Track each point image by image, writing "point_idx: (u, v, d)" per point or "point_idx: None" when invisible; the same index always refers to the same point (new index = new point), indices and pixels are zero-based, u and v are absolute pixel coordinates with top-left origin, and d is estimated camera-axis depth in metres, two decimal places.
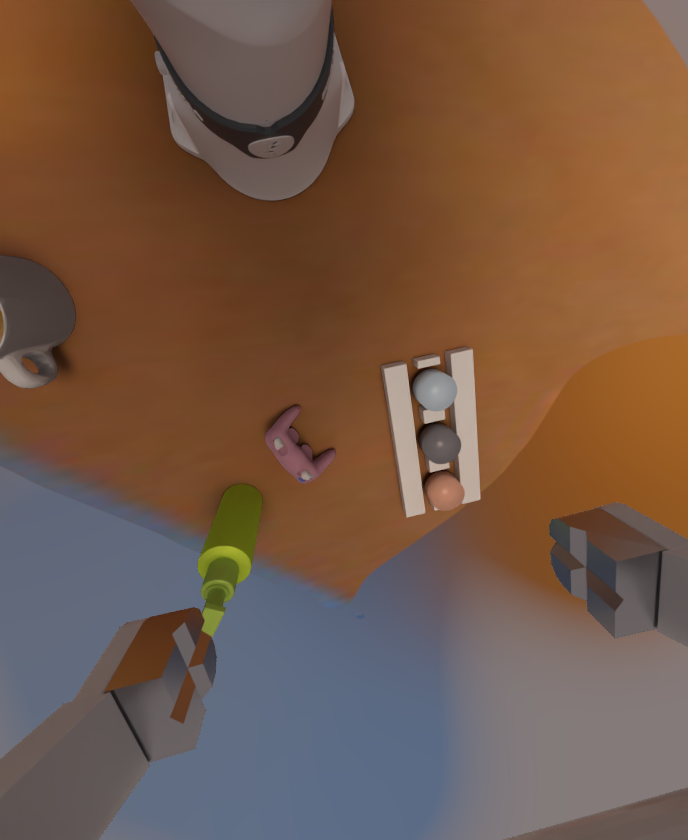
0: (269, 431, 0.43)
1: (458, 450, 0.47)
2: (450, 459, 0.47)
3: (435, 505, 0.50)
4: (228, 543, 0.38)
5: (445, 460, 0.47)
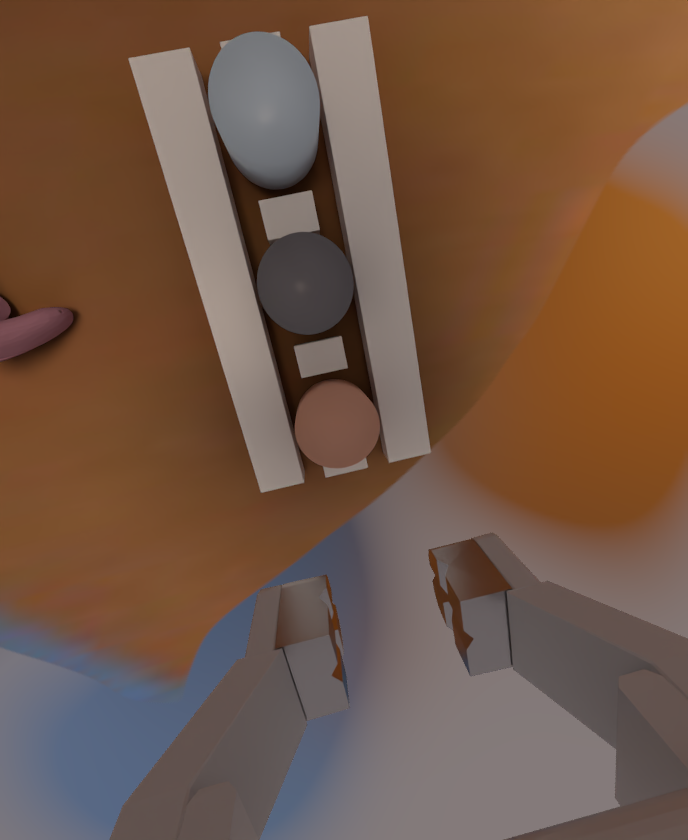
0: None
1: (347, 295, 0.18)
2: (329, 321, 0.18)
3: (308, 453, 0.20)
4: None
5: (316, 323, 0.18)
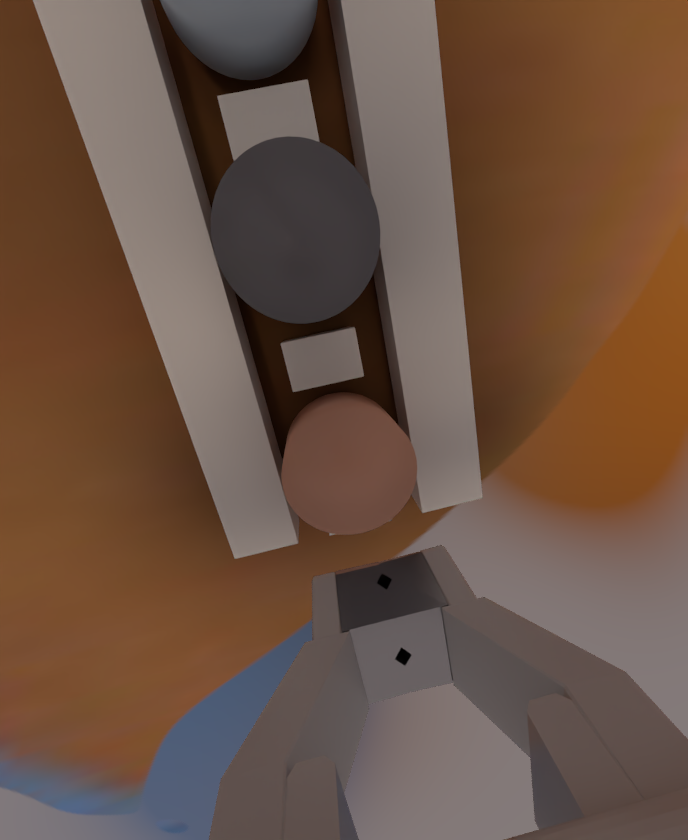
0: None
1: (370, 255, 0.10)
2: (338, 301, 0.11)
3: (303, 513, 0.13)
4: None
5: (315, 305, 0.11)
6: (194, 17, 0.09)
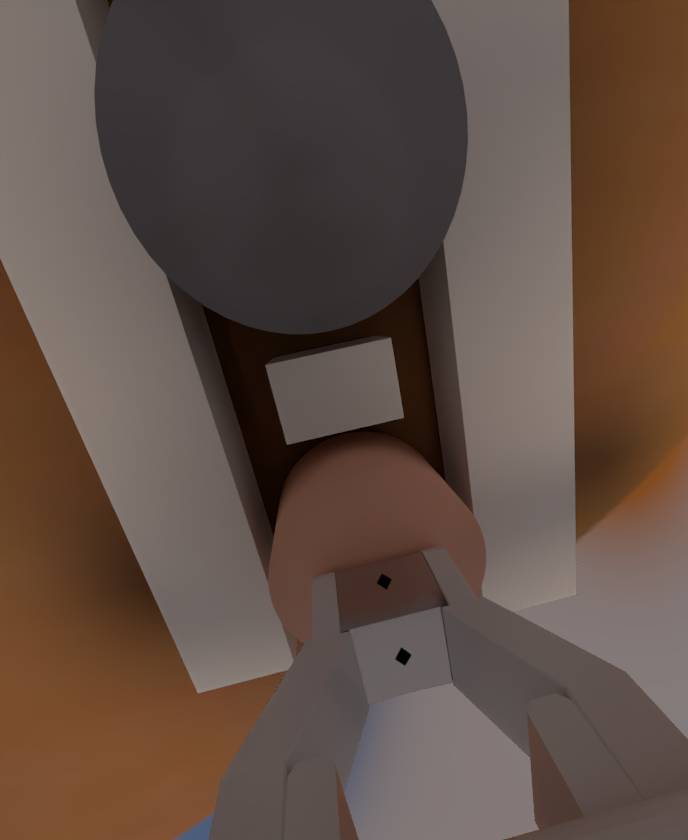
0: None
1: (443, 192, 0.05)
2: (375, 288, 0.05)
3: (304, 633, 0.08)
4: None
5: (329, 296, 0.05)
6: None
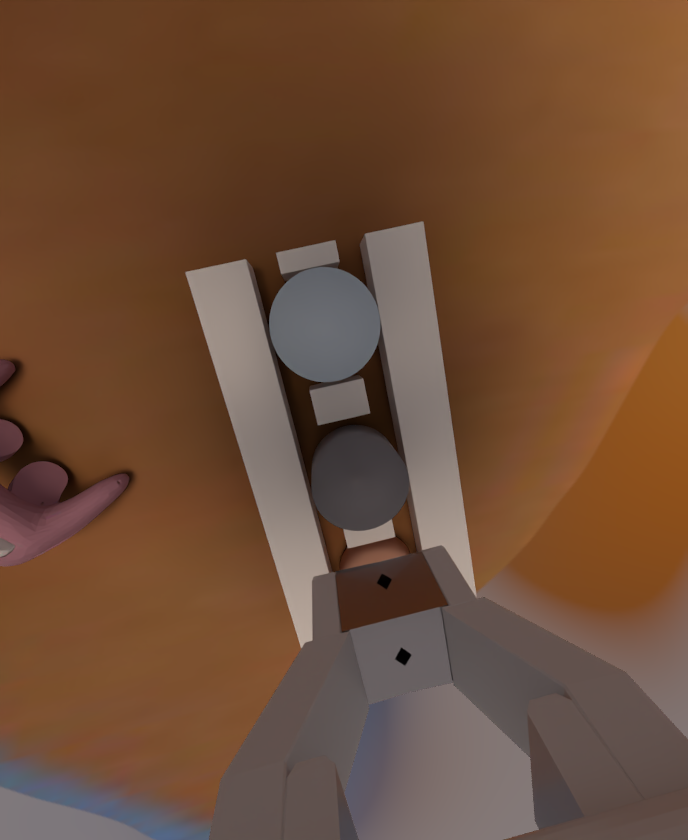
0: None
1: (403, 493, 0.17)
2: (383, 517, 0.18)
3: None
4: None
5: (370, 520, 0.18)
6: None
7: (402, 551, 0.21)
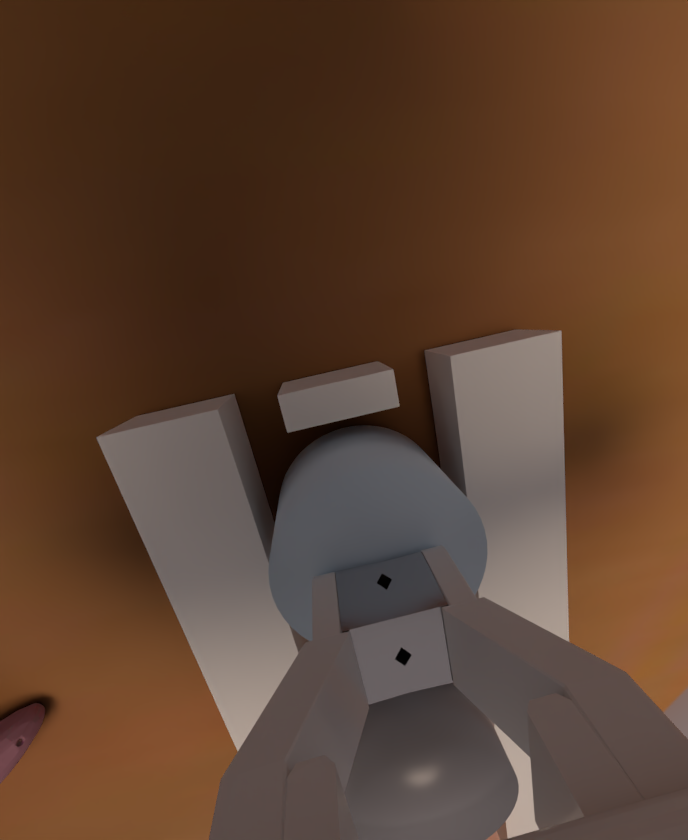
0: None
1: (505, 808, 0.10)
2: None
3: None
4: None
5: None
6: None
7: None
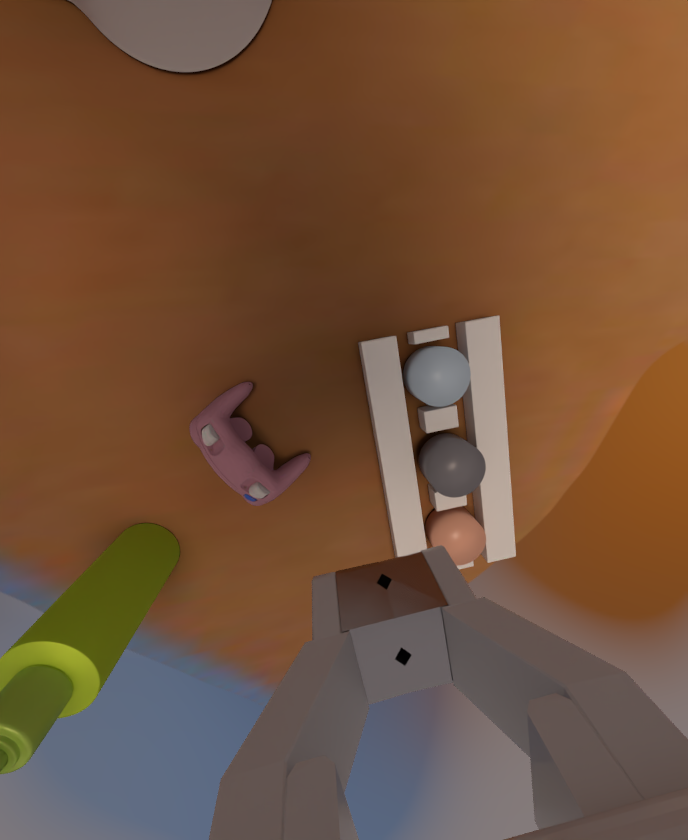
0: (197, 417, 0.27)
1: (481, 475, 0.29)
2: (468, 490, 0.30)
3: None
4: (55, 636, 0.20)
5: (460, 491, 0.30)
6: None
7: (470, 514, 0.33)
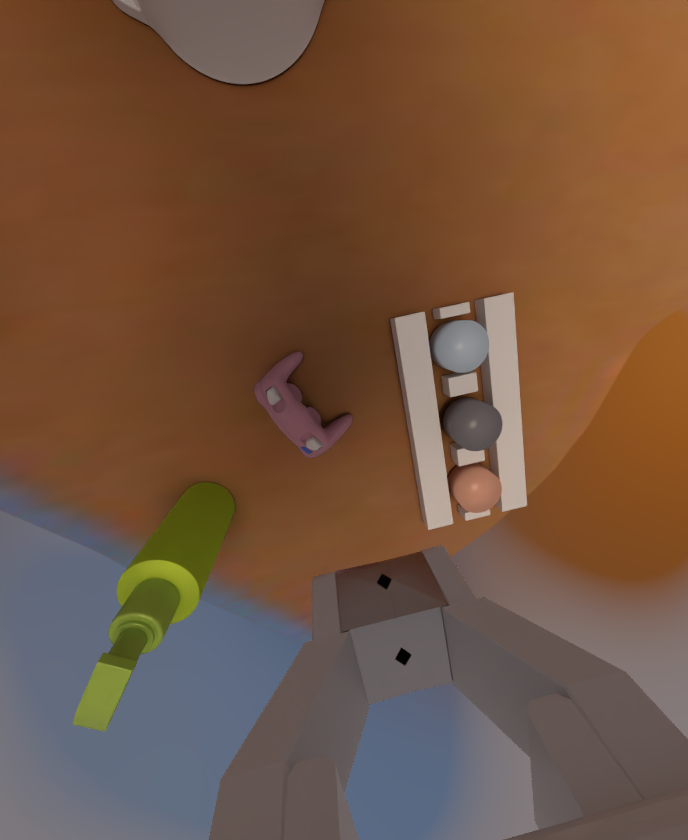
0: (260, 381, 0.31)
1: (498, 431, 0.34)
2: (488, 444, 0.34)
3: (463, 505, 0.37)
4: (165, 557, 0.25)
5: (481, 445, 0.34)
6: (448, 369, 0.34)
7: (487, 469, 0.38)
